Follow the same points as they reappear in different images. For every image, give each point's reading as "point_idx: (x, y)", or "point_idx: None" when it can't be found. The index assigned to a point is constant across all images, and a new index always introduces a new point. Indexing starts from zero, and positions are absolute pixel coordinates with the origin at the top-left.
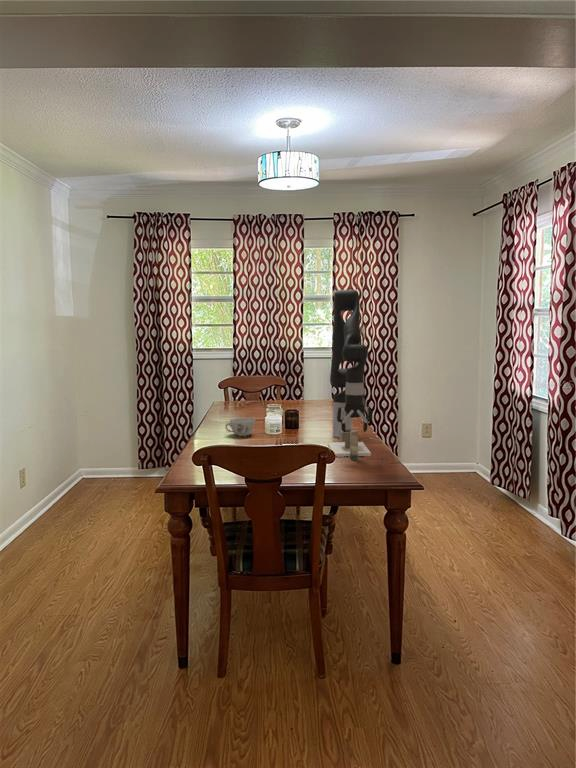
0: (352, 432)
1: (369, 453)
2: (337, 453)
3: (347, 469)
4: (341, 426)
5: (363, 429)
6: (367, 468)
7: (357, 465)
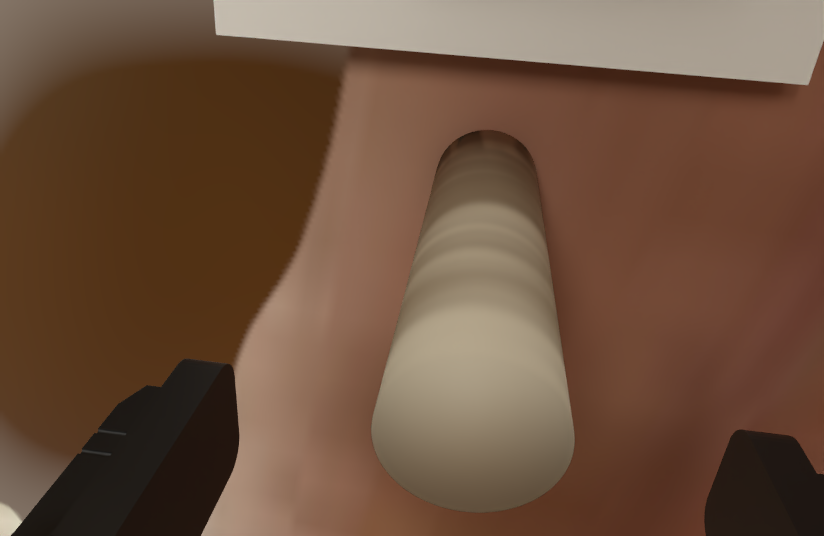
0: (409, 477)
1: (778, 81)
2: (273, 36)
3: (331, 486)
4: (77, 481)
5: (743, 487)
6: None
7: None
